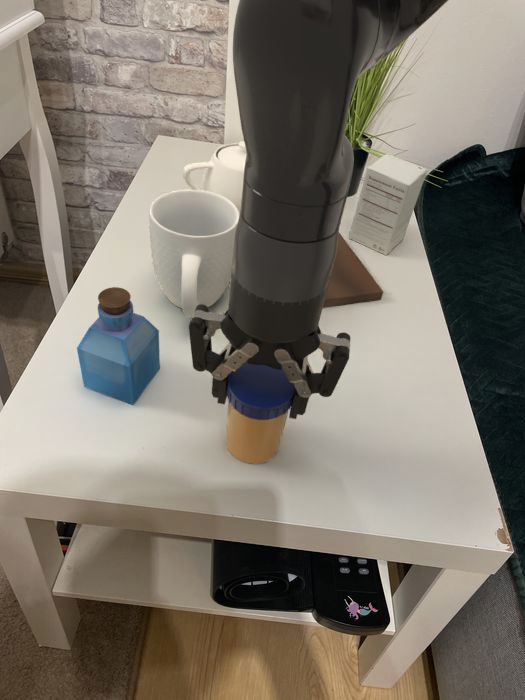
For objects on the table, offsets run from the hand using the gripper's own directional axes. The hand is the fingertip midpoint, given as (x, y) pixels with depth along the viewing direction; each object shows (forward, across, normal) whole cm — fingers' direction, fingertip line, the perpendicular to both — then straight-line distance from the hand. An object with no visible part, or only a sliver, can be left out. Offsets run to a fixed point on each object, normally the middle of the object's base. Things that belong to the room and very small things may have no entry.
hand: (258, 404), depth 51 cm
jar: (+7, 0, 0) cm, 7 cm away
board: (+7, +1, +32) cm, 33 cm away
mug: (+7, -12, +21) cm, 25 cm away
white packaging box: (+7, +13, +46) cm, 48 cm away
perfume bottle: (+7, -16, +5) cm, 18 cm away
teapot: (+7, -10, +49) cm, 51 cm away
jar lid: (-3, 0, 0) cm, 3 cm away
